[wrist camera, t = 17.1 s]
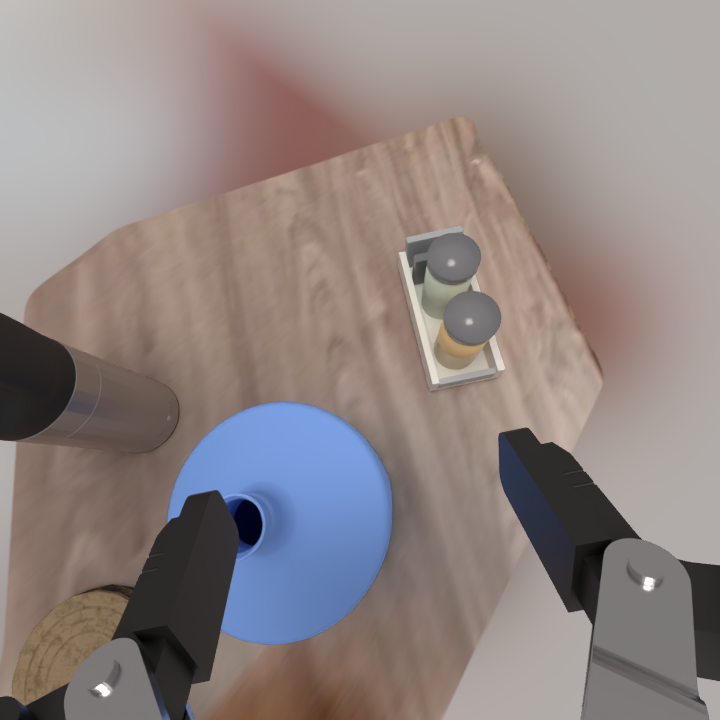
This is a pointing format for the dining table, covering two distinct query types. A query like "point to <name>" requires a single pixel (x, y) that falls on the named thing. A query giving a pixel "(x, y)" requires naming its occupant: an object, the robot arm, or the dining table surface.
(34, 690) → the brown round flat disc
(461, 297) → the honey jar
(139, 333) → the dining table surface
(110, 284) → the dining table surface
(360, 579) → the water jug
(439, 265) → the sage jar
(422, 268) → the block
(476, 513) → the dining table surface
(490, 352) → the jar lane
